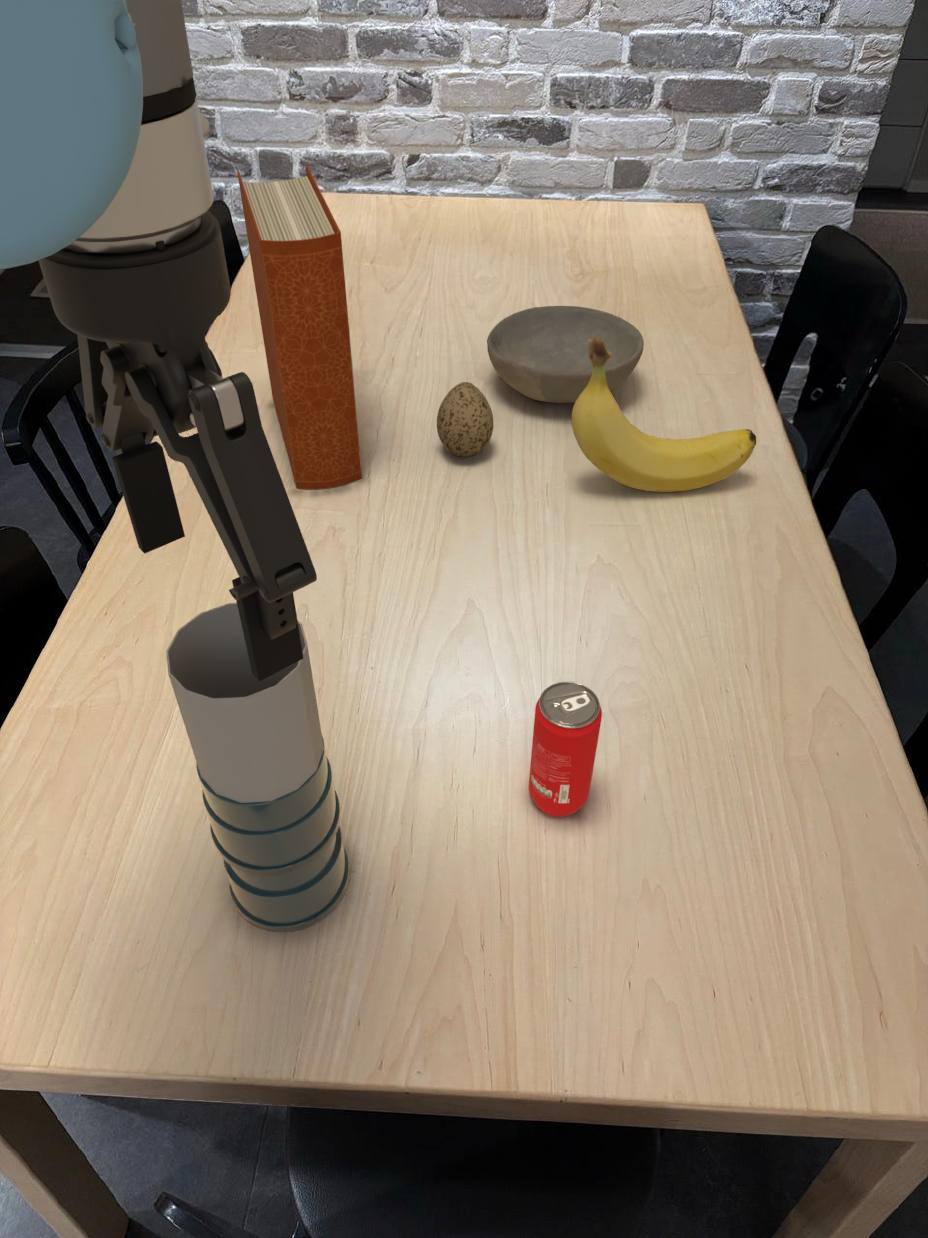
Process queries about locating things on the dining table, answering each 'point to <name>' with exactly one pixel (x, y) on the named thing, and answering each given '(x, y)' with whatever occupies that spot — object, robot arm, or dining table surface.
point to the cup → (243, 711)
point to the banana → (649, 442)
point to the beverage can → (564, 747)
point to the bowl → (561, 350)
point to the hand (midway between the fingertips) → (216, 600)
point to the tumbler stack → (282, 852)
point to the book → (304, 327)
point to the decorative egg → (465, 420)
